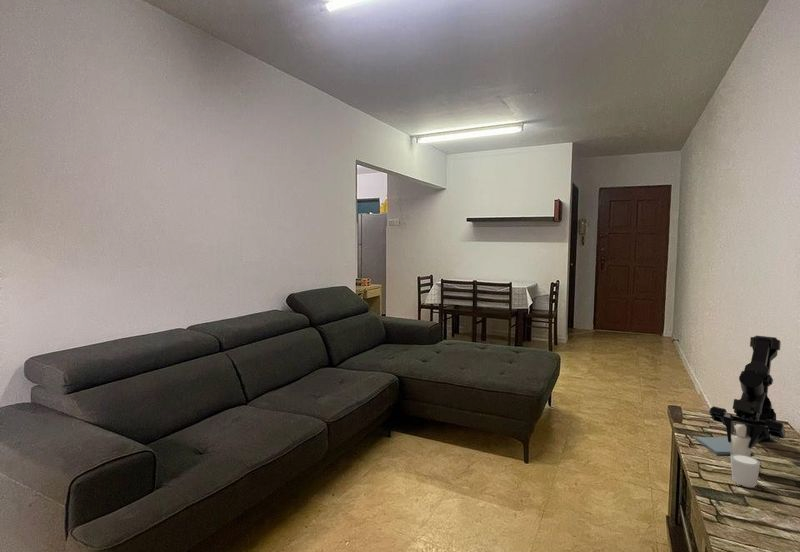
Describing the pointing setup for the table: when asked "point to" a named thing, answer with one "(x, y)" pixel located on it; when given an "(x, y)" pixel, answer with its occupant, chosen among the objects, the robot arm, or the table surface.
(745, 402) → the robot arm
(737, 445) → the cream bottle
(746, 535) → the table surface
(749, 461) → the shot glass
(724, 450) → the slate board
